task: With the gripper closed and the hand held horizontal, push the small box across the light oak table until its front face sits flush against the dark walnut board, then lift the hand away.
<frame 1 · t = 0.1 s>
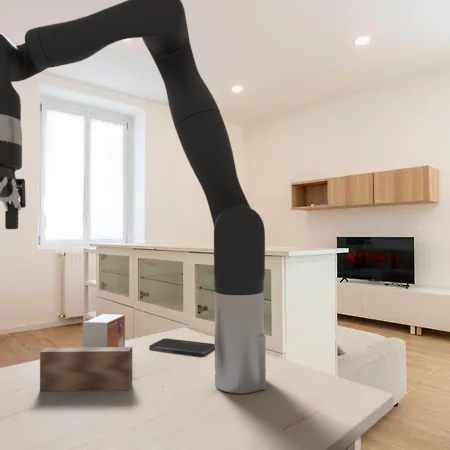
phone: (182, 350, 91), on the table
walnut board: (86, 387, 68), on the table
small box: (104, 369, 78), on the table
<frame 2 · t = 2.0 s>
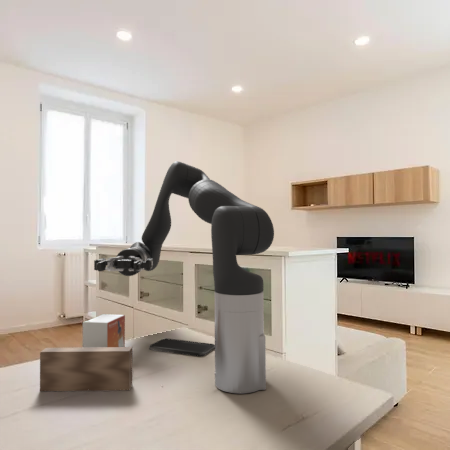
hand: (117, 267, 89), 20 cm above the table, tool horizontal, fingers open, 8 cm apart
nothing on the table moved.
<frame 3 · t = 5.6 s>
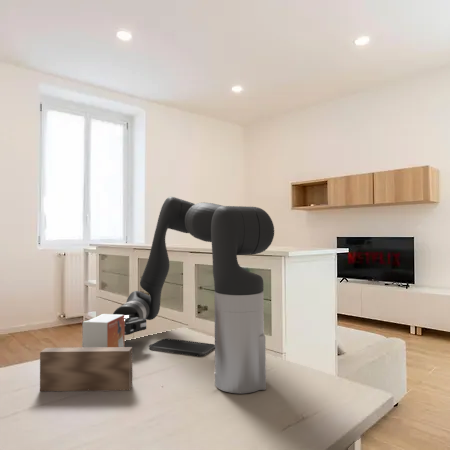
hand: (110, 333, 82), 6 cm above the table, tool horizontal, fingers closed
small box: (104, 368, 78), on the table, touching gripper
everything else where it was.
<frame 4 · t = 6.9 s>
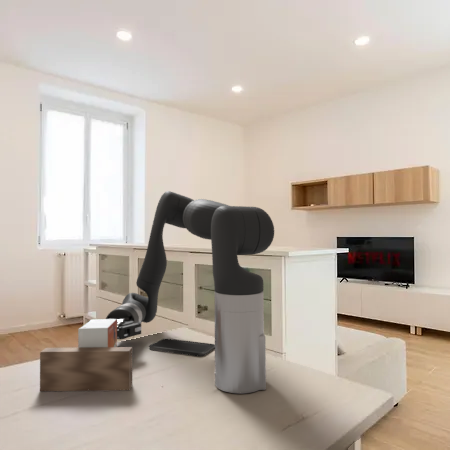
hand: (102, 339, 77), 6 cm above the table, tool horizontal, fingers closed
small box: (98, 377, 73), on the table, touching gripper
everything else where it was.
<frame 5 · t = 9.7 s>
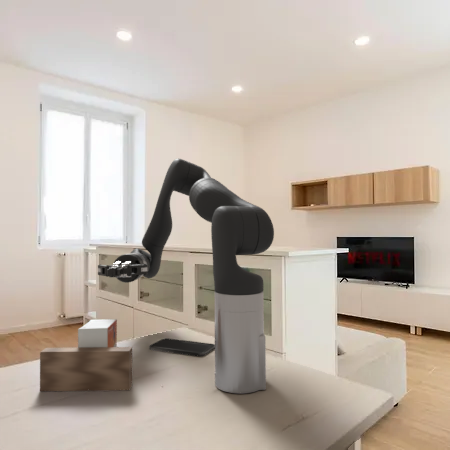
hand: (112, 272, 84), 19 cm above the table, tool horizontal, fingers closed
small box: (98, 377, 73), on the table
everything else where it was.
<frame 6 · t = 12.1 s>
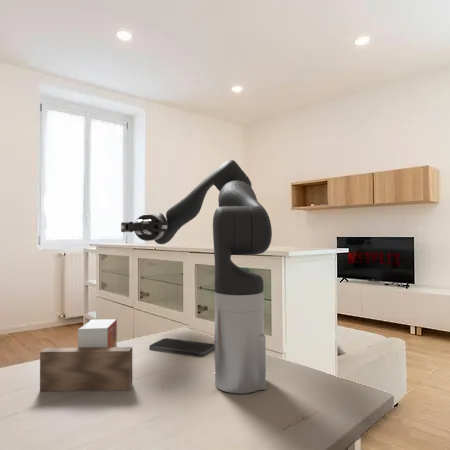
hand: (136, 226, 91), 30 cm above the table, tool horizontal, fingers closed
nothing on the table moved.
at the end: small box inside the target area on the table beside the walnut board (0.9 cm from its centre), on the table; small box tilted 0° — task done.
